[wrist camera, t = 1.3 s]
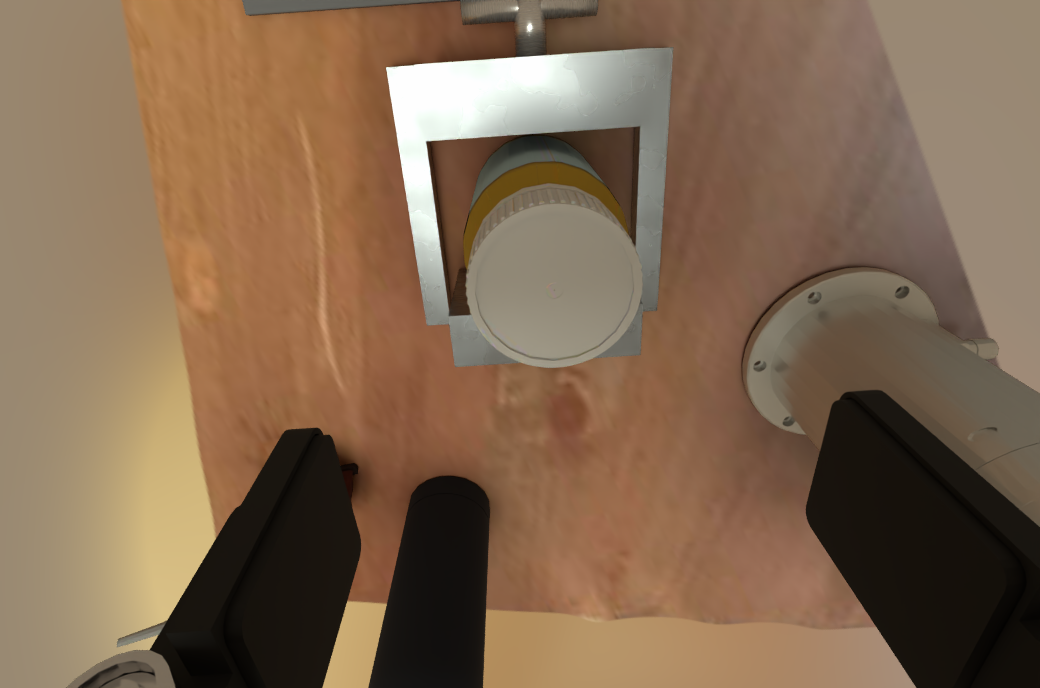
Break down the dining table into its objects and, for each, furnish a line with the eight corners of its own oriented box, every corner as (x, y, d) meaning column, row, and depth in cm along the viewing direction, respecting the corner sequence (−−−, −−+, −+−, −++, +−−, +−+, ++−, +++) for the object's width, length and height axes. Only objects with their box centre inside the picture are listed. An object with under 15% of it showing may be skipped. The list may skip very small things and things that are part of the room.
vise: (668, -8, 27) (716, -28, 21) (651, 301, 35) (682, 352, 29) (383, 13, 27) (347, -2, 21) (429, 315, 35) (413, 369, 29)
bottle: (472, 134, 30) (444, 191, 17) (596, 131, 30) (666, 185, 17) (479, 254, 33) (460, 381, 20) (591, 251, 33) (647, 375, 20)
